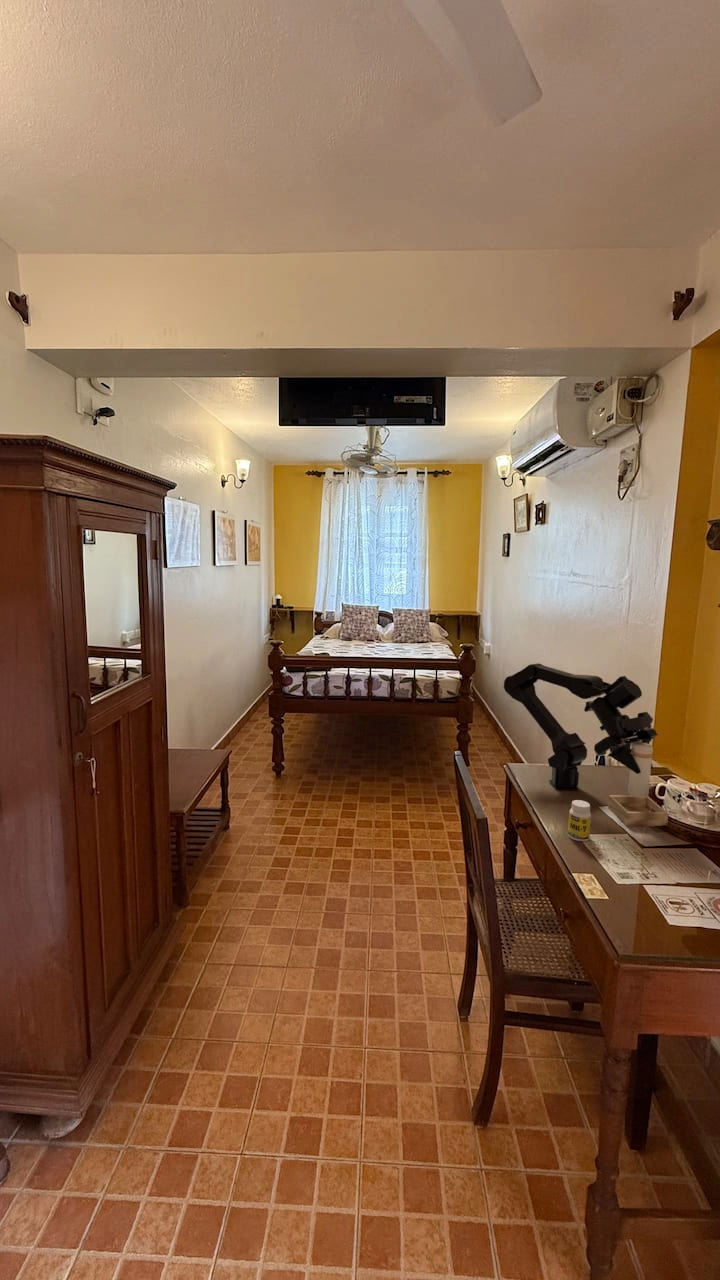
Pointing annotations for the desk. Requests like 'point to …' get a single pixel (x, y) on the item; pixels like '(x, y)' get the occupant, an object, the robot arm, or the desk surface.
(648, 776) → the vase
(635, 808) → the tray
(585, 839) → the supplement bottle
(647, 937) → the desk surface
